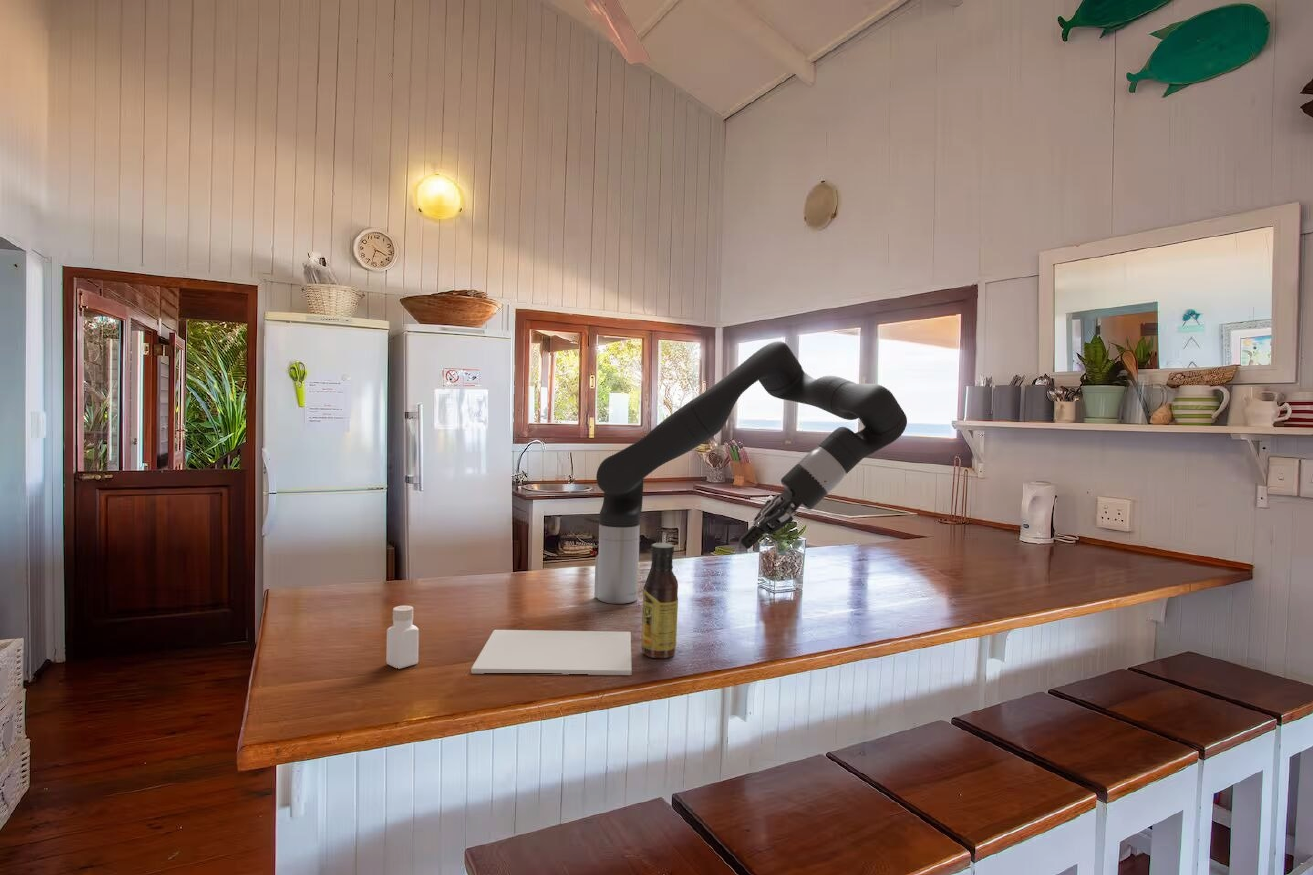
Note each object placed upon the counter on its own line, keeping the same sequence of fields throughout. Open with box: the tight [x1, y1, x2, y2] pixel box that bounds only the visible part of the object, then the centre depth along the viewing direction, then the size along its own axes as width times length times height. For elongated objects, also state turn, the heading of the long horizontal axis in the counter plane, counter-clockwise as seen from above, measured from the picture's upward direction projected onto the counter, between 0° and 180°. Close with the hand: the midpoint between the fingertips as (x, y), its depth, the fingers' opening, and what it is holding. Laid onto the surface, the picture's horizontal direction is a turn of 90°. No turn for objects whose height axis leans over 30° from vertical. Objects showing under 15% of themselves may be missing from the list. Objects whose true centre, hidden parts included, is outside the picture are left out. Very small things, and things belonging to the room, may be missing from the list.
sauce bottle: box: [641, 542, 679, 659], centre depth 125 cm, size 6×6×20 cm
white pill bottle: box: [385, 605, 420, 670], centre depth 117 cm, size 4×4×10 cm
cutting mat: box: [470, 629, 633, 676], centre depth 125 cm, size 26×20×1 cm
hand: (743, 544), depth 125 cm, fingers closed
